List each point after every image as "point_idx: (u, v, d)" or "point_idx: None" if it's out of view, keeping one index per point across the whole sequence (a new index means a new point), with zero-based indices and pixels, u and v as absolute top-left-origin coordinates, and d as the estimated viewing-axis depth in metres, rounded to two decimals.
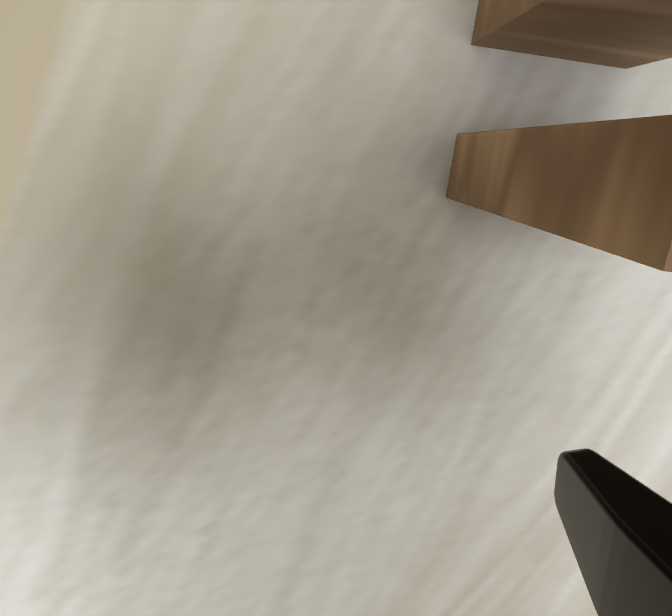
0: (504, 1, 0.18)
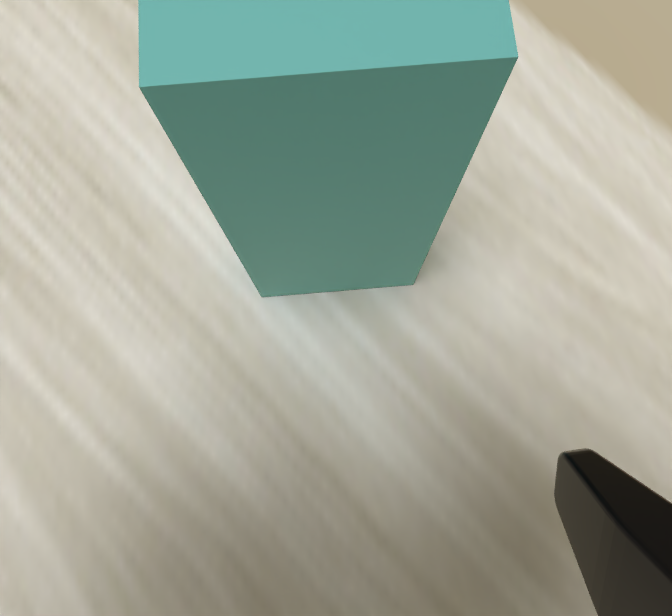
0: None
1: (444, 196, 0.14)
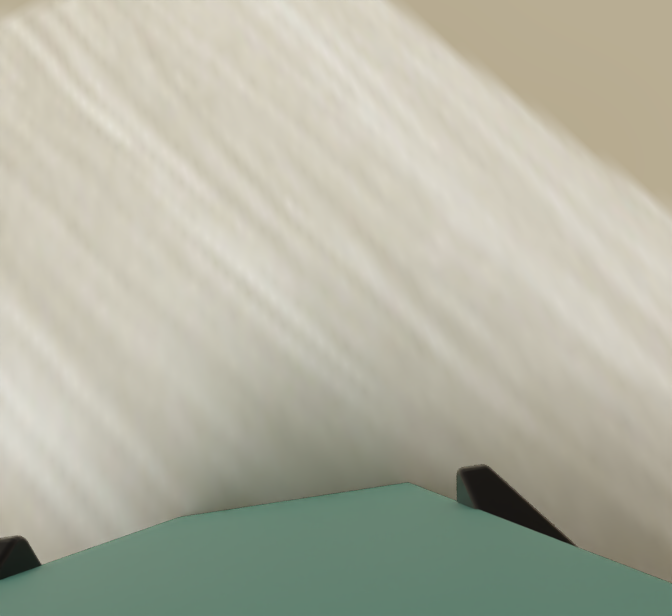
0: None
1: None
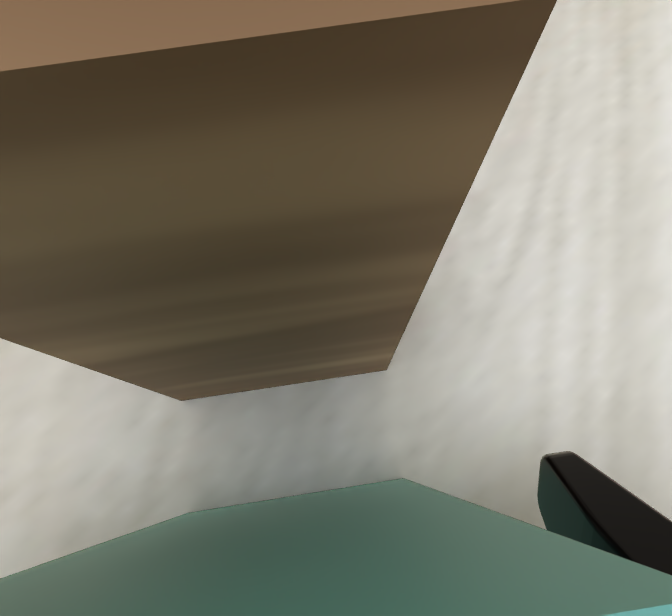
0: None
1: None
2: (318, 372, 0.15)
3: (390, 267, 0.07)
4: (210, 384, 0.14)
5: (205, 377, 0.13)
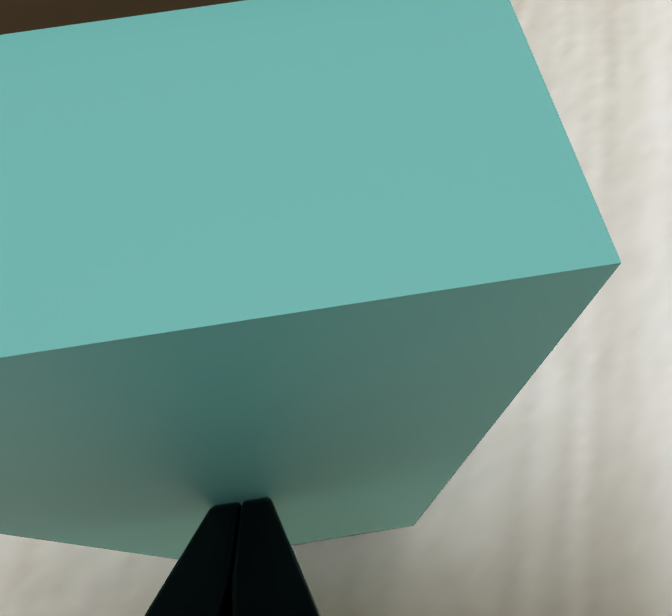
0: None
1: (443, 467, 0.08)
2: None
3: None
4: None
5: None
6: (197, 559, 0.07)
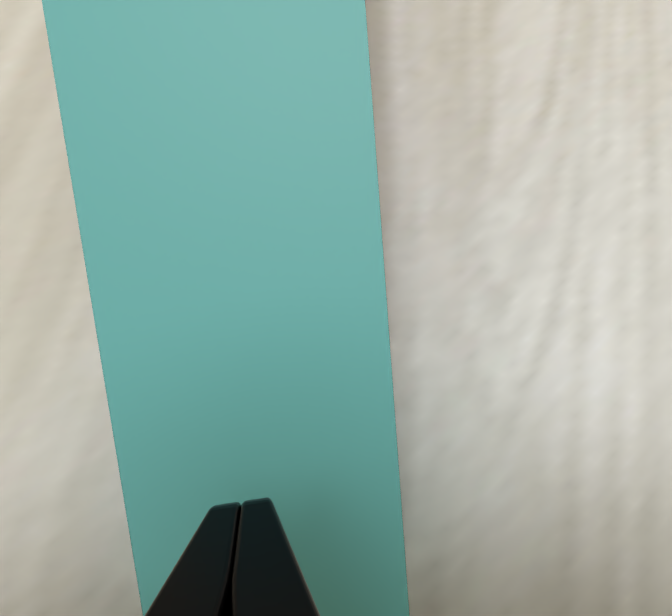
0: None
1: (369, 237, 0.11)
2: None
3: None
4: None
5: None
6: (197, 559, 0.07)
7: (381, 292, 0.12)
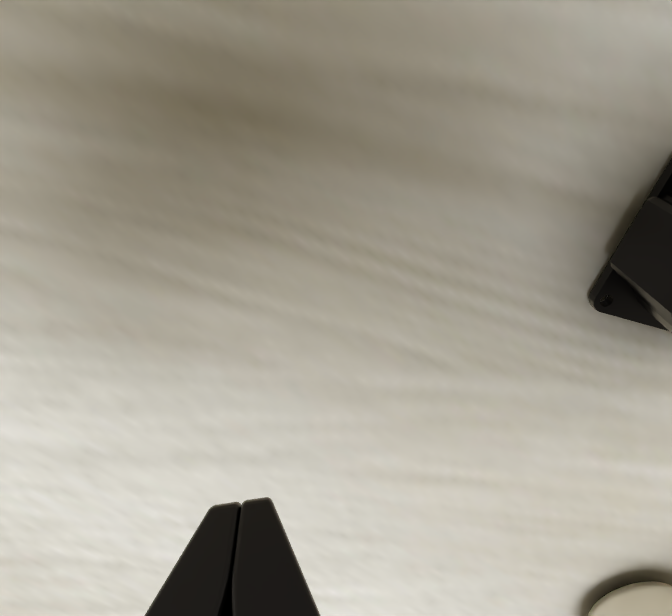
0: None
1: None
2: None
3: None
4: None
5: None
6: (197, 559, 0.07)
7: None
